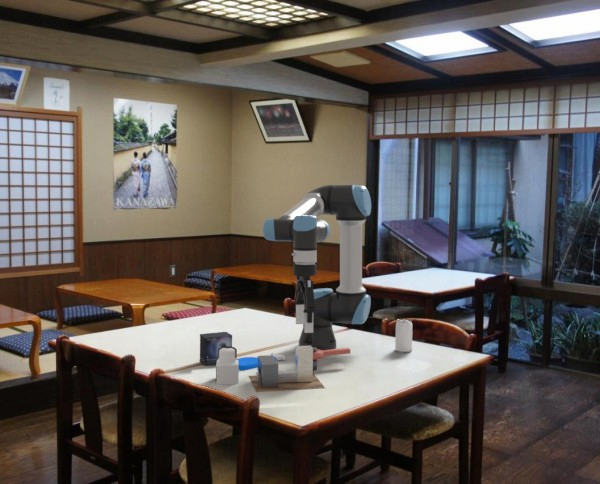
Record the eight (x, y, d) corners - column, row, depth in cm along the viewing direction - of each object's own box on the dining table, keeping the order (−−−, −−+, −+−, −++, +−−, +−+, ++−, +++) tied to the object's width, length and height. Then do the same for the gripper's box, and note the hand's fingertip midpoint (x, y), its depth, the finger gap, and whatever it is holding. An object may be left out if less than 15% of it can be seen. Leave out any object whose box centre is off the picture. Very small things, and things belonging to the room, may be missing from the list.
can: (411, 352, 267) (412, 322, 265) (394, 351, 268) (395, 321, 267) (412, 348, 273) (412, 319, 272) (395, 348, 274) (396, 318, 273)
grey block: (257, 378, 227) (257, 356, 226) (272, 377, 228) (272, 355, 227) (262, 388, 216) (262, 364, 215) (278, 387, 217) (278, 364, 216)
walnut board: (248, 378, 230) (248, 375, 230) (312, 375, 234) (312, 372, 234) (256, 395, 212) (256, 391, 212) (325, 391, 217) (325, 388, 217)
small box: (205, 366, 245) (205, 337, 244) (199, 362, 251) (199, 333, 250) (232, 363, 250) (232, 334, 249) (226, 358, 256) (226, 331, 255)
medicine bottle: (216, 380, 228) (216, 345, 226) (238, 380, 228) (238, 344, 227) (216, 387, 220) (215, 350, 219) (238, 386, 221) (238, 350, 220)
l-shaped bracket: (256, 381, 223) (256, 347, 222) (310, 378, 227) (310, 345, 226) (257, 384, 219) (257, 350, 219) (312, 381, 223) (312, 348, 222)
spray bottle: (244, 366, 235) (291, 354, 254) (222, 361, 242) (270, 349, 261) (244, 375, 236) (291, 362, 254) (222, 369, 243) (270, 357, 261)
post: (307, 371, 240) (308, 356, 239) (316, 370, 240) (316, 356, 240) (309, 373, 237) (309, 358, 236) (318, 373, 237) (318, 358, 237)
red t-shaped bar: (308, 360, 233) (308, 351, 233) (299, 355, 240) (299, 346, 239) (353, 355, 240) (353, 346, 240) (344, 351, 247) (344, 342, 246)
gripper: (286, 259, 232) (285, 321, 234) (301, 267, 208) (300, 336, 210) (307, 258, 234) (307, 320, 236) (325, 267, 210) (324, 336, 211)
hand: (304, 328), depth 223 cm, fingers open, 13 cm apart
